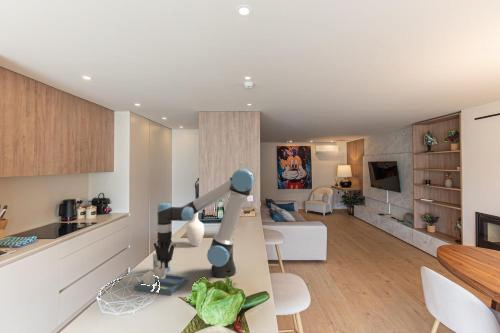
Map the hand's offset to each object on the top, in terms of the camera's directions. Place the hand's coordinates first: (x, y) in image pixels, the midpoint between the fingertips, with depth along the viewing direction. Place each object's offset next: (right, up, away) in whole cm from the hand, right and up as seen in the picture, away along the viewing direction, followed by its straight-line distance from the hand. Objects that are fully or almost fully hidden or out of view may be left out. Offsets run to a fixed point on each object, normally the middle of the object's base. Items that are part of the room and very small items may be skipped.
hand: (164, 273), depth 137 cm
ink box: (-6, -5, +13) cm, 16 cm away
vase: (+3, -6, +65) cm, 65 cm away
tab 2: (-3, -3, +1) cm, 4 cm away
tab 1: (-6, -3, -7) cm, 9 cm away
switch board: (0, -5, -4) cm, 6 cm away
